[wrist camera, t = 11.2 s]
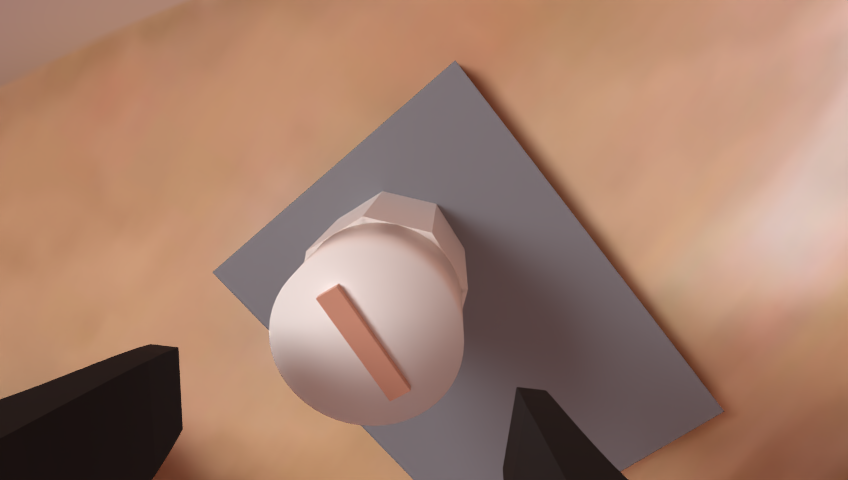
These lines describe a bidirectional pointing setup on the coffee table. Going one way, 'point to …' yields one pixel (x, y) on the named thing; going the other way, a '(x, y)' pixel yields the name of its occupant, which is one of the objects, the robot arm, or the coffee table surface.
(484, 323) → the board
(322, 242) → the knob
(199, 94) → the coffee table surface
